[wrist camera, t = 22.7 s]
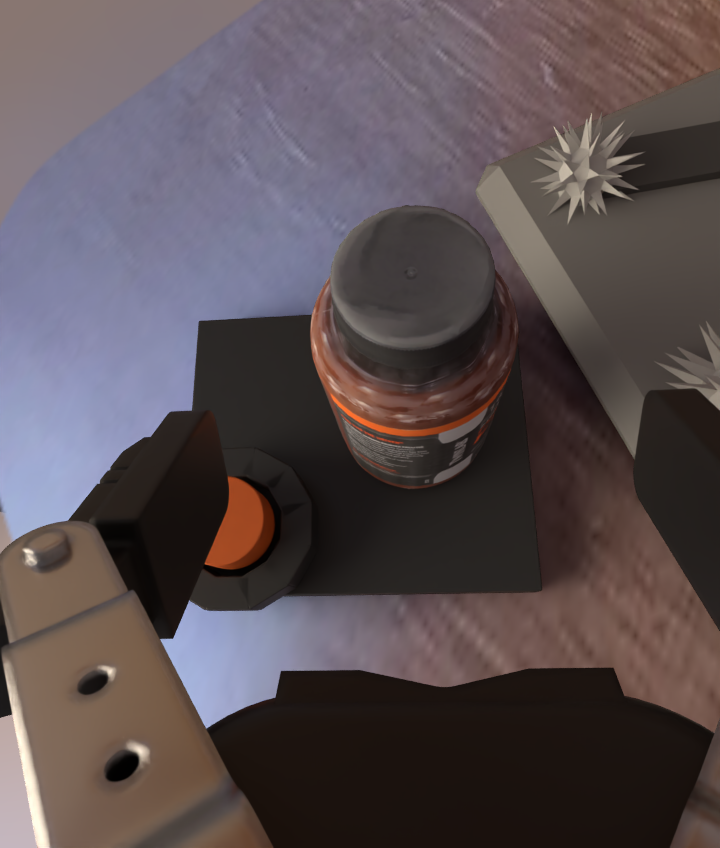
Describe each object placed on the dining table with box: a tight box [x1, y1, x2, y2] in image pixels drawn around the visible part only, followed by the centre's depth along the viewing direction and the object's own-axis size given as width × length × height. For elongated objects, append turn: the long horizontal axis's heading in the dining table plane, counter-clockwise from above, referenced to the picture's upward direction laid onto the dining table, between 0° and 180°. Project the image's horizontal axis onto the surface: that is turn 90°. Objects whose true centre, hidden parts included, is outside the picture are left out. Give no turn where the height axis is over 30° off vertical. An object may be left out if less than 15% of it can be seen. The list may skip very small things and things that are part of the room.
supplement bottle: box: [310, 205, 519, 489], centre depth 20 cm, size 6×6×11 cm
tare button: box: [205, 476, 275, 570], centre depth 23 cm, size 3×3×2 cm
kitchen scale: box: [190, 315, 542, 611], centre depth 25 cm, size 14×13×3 cm
